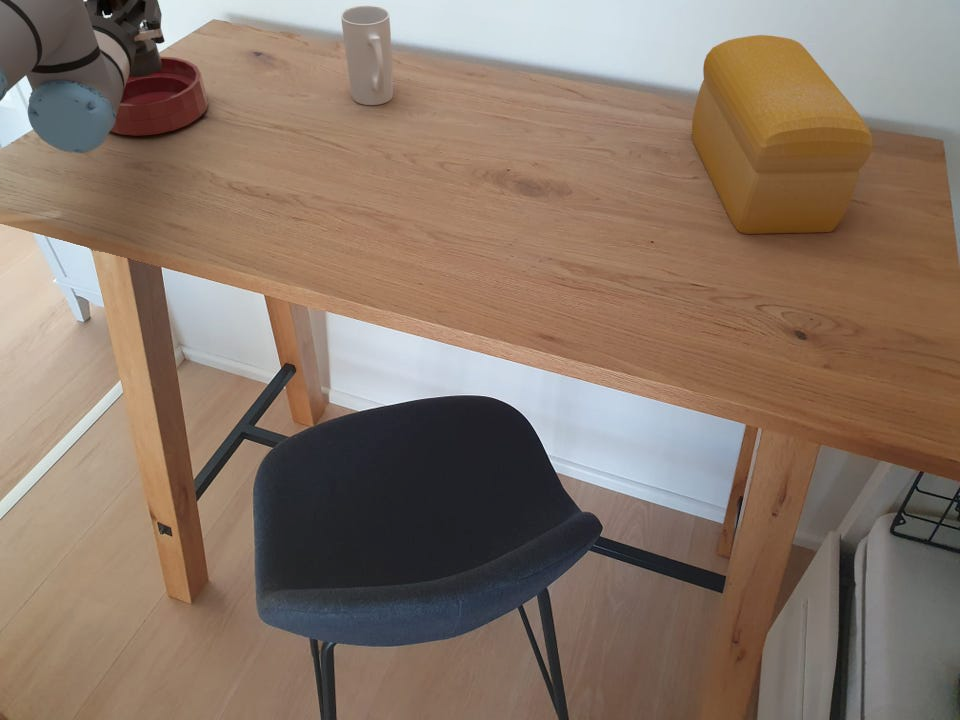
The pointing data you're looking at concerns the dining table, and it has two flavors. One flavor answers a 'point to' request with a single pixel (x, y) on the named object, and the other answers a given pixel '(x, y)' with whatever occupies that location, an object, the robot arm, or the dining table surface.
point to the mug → (368, 54)
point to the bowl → (162, 99)
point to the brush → (141, 50)
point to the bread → (777, 137)
